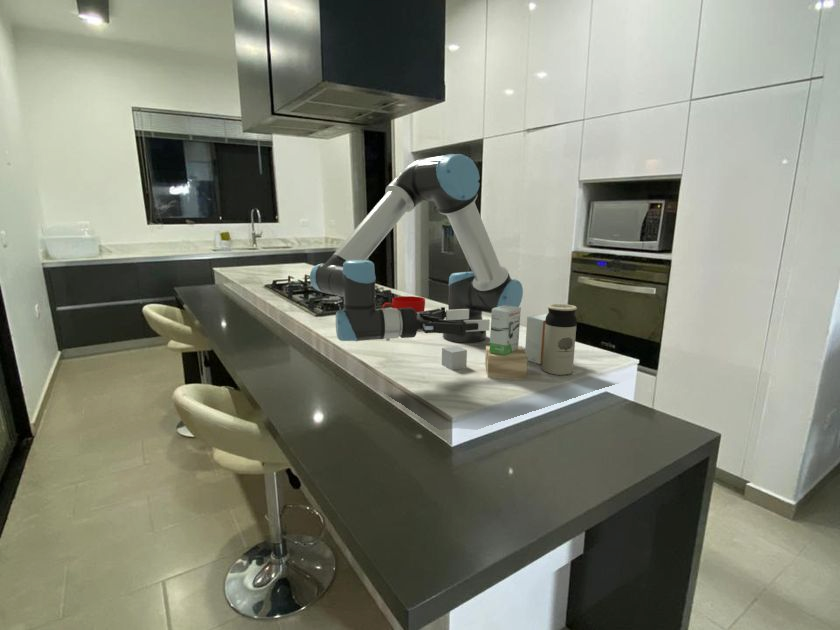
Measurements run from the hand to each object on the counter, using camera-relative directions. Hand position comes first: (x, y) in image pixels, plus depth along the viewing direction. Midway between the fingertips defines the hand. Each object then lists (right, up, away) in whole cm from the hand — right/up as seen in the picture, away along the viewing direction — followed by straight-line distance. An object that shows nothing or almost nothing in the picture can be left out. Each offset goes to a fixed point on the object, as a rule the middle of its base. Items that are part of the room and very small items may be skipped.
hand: (478, 319), depth 117 cm
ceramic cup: (-22, -3, +60) cm, 63 cm away
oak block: (+8, -15, +5) cm, 17 cm away
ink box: (+7, -9, +4) cm, 12 cm away
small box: (+21, -12, +15) cm, 28 cm away
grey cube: (-6, -13, +9) cm, 17 cm away
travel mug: (+22, -14, +5) cm, 27 cm away
